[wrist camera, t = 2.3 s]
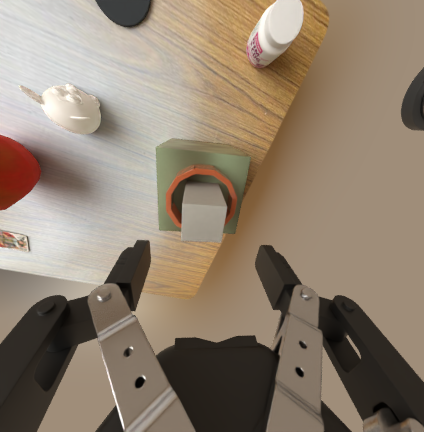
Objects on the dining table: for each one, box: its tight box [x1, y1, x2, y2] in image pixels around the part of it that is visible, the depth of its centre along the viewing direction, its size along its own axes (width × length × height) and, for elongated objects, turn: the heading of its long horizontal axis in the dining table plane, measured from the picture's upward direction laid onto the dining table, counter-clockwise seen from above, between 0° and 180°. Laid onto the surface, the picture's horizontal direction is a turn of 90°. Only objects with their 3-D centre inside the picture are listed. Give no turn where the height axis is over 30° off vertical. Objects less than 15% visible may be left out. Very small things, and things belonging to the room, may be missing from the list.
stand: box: [156, 138, 251, 234], centre depth 28 cm, size 11×11×14 cm
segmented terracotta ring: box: [166, 164, 237, 228], centre depth 21 cm, size 8×8×2 cm
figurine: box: [19, 84, 101, 134], centre depth 25 cm, size 8×6×7 cm
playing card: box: [0, 231, 29, 252], centre depth 38 cm, size 9×5×1 cm, turn 69°
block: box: [181, 181, 227, 243], centre depth 19 cm, size 4×4×7 cm
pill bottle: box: [246, 0, 304, 68], centre depth 22 cm, size 5×5×8 cm
